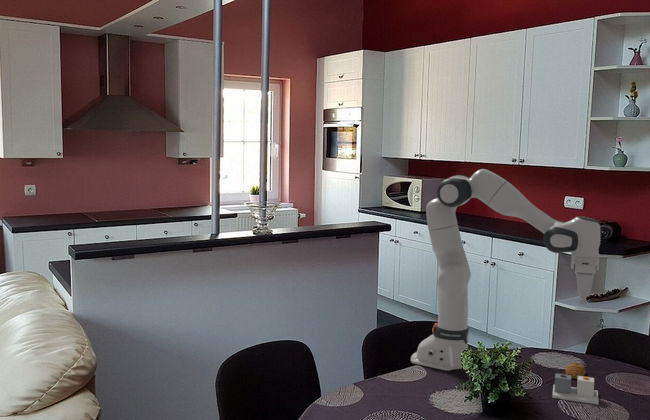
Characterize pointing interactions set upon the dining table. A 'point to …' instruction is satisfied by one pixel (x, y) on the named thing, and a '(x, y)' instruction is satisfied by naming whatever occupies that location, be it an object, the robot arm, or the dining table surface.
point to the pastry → (575, 370)
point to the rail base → (576, 397)
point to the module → (585, 386)
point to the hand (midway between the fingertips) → (582, 303)
